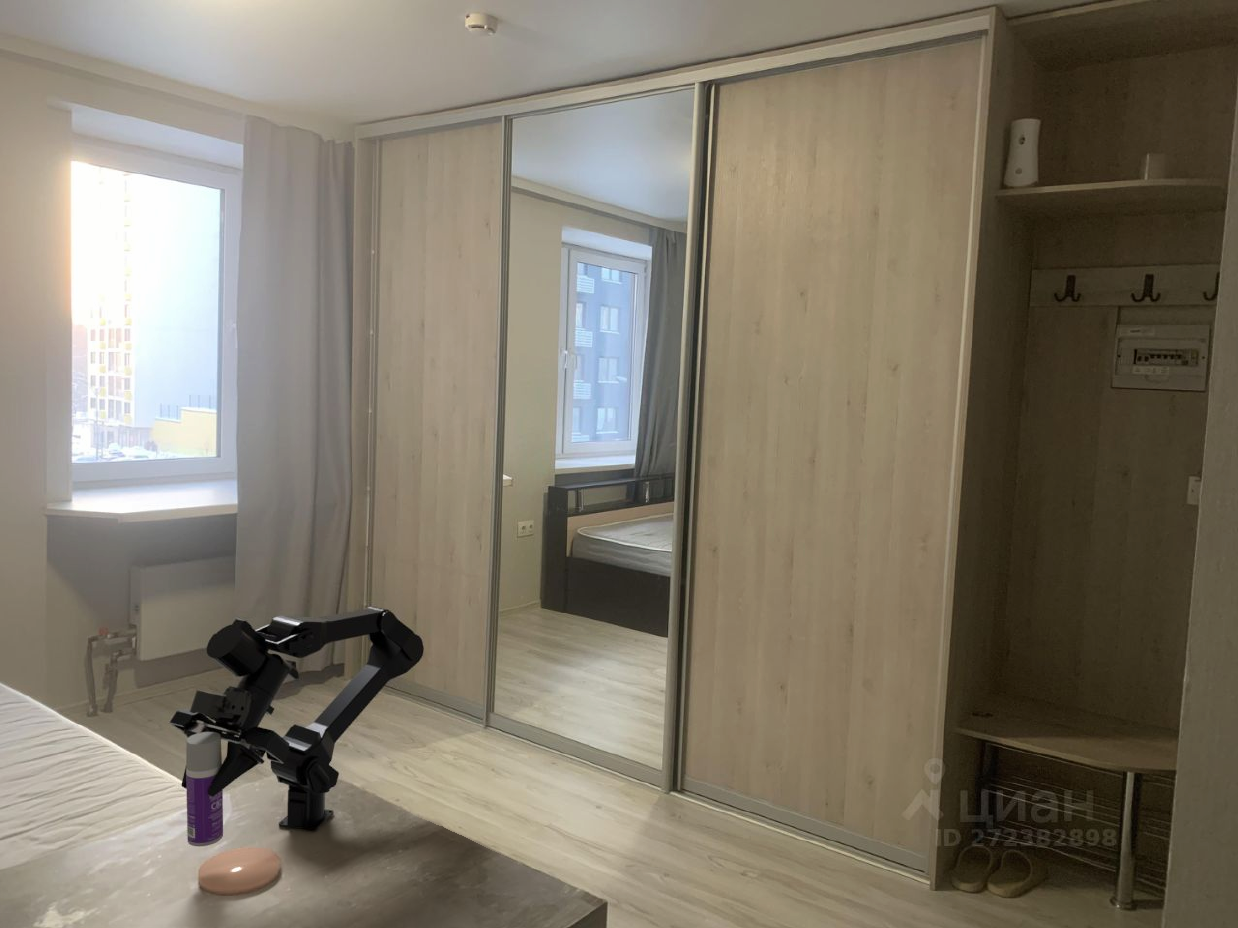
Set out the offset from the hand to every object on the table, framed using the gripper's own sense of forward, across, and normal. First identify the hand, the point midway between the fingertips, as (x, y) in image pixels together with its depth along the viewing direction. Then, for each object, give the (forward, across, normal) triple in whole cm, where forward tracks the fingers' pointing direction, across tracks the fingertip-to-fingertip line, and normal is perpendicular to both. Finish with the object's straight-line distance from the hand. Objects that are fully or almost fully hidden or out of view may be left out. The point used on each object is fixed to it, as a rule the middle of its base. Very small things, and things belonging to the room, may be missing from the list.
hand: (196, 791), depth 128 cm
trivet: (+7, +4, +12) cm, 15 cm away
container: (+5, 0, +6) cm, 8 cm away
